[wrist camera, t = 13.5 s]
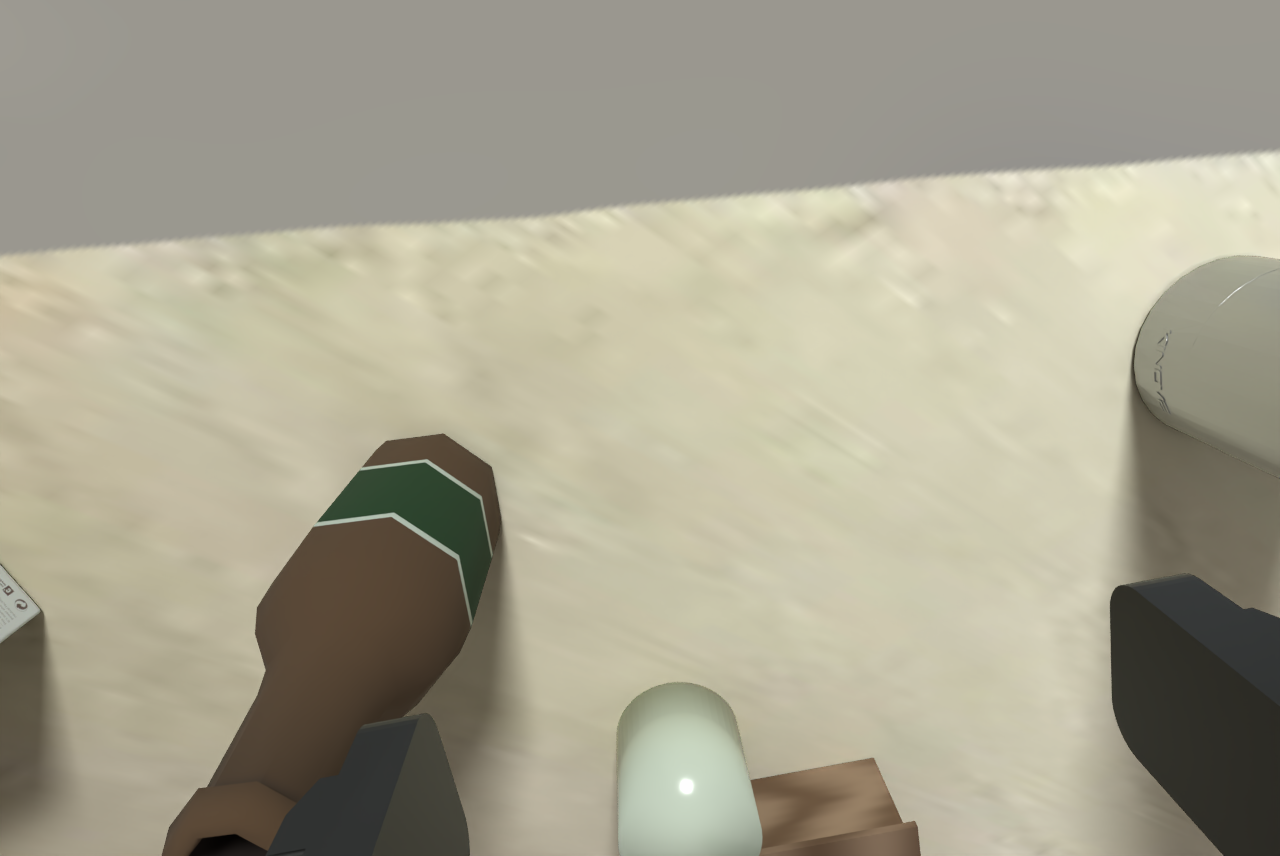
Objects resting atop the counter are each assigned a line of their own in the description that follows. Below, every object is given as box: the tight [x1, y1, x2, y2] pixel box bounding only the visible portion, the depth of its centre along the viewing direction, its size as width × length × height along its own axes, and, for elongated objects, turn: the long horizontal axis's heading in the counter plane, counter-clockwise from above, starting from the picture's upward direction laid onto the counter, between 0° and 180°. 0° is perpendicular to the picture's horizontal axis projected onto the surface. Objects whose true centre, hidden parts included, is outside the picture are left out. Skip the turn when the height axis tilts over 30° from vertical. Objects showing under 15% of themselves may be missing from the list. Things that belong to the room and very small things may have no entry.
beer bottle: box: [162, 434, 501, 856], centre depth 32 cm, size 8×8×24 cm
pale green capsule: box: [617, 682, 762, 856], centre depth 44 cm, size 7×7×8 cm
